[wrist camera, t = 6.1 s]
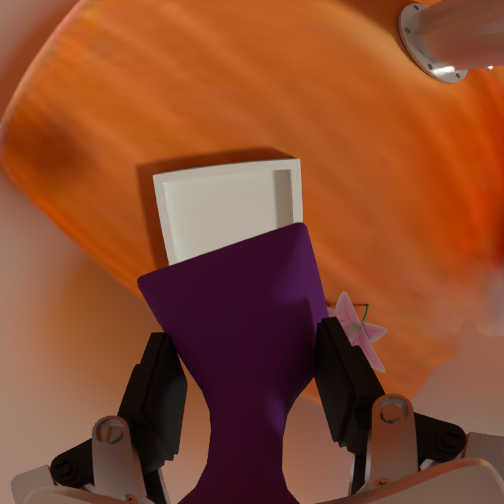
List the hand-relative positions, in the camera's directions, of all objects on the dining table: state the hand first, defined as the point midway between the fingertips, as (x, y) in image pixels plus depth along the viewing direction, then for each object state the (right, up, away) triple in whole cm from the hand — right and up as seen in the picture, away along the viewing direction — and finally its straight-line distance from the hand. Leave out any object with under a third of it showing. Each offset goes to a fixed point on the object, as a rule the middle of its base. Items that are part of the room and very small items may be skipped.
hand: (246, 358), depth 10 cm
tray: (-2, +7, +21) cm, 22 cm away
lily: (+13, -4, +27) cm, 30 cm away
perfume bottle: (0, +2, +5) cm, 6 cm away
